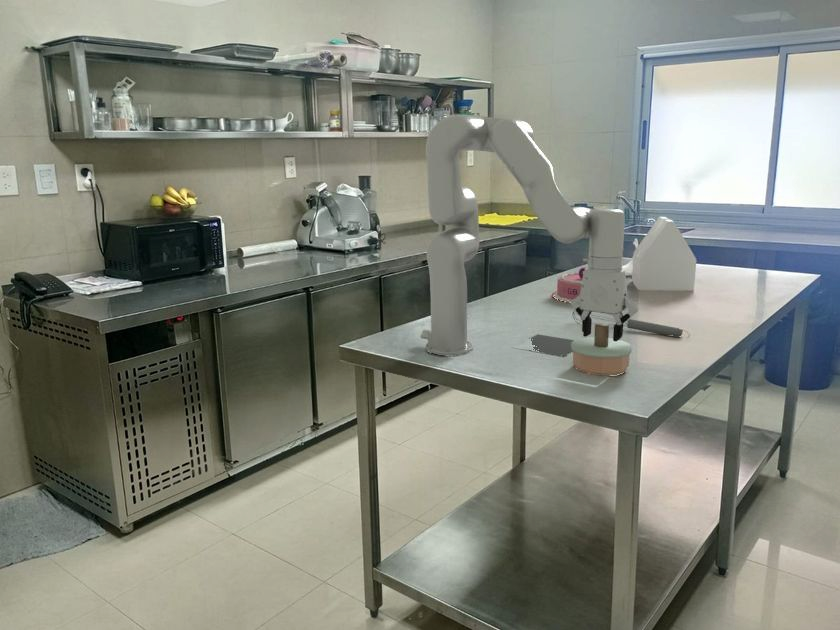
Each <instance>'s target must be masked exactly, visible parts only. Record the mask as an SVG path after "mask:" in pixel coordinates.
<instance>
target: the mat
mask: <svg viewBox="0 0 840 630" xmlns="http://www.w3.org/2000/svg"><path fill="white" fill-rule="evenodd" d="M530 338H531V341H532V345H535V347H533V348H534V349H535V351H536V350H537V351H539V352H543V353H545V354H544V355H549V354H550V355H549V356H554V355H556V356H555V357H560V356H561V355H562V357H561V358H565V357H567V356H568V355H567V354H569V353H570V354H572V353H573V350H572V349H571V343H572V342H573V341H574V339H571V338H570V339H569V338H561V337H557V336H552V335H545V334H539V333H538V334H536V335H534V336H532V337H529V338H528V339H530ZM532 339H533V340H532ZM536 346H537V347H536ZM534 349H533V350H534ZM538 349H539V350H538ZM571 352H572V353H571ZM543 353H542V354H543ZM570 354H569V355H570Z"/></svg>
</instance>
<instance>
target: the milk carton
mask: <svg viewBox="0 0 840 630" xmlns="http://www.w3.org/2000/svg"><path fill="white" fill-rule="evenodd" d="M632 258H633V269H632V274H631V283H632V282H633V283H632V284H633V285H634V286H635V288H636V289H637V290H638V291H687V290H688V291H693V292H694V291H695V281H696V270H697V258H696V256H695V255H694V252H693V251H692V249H691V247H690V246H689V244H688V242H687V241H686V239H685V238H684V235H683V234H682V233H681V230H680V229H679V227H678V226H677V224H676V223H675V221H674V220H672V219H670V218H668V217H666V216H659V217H658V218H657V219H656V220H655V222H654V224H652V226H651V228H650V229H649V230H648V231H647V233H646V235H645V236H644V237H643V239H642V240H641V241H640V242H639V243H638V247H637V248H636V247H635V250H634V251H633V254H632ZM688 291H687V292H688Z"/></svg>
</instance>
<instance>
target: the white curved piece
mask: <svg viewBox="0 0 840 630" xmlns="http://www.w3.org/2000/svg"><path fill="white" fill-rule="evenodd" d="M632 245H634V247H635V249H636V248H637V247H638V245H639V241H638V239H637V238H634V240H633V242H632ZM622 269H624V270H625V275H626V277H627V276H630V275H631V276H632V269H633V257H632V258H631V260H630V261H629V262H628V263H627V264H625V265H622Z"/></svg>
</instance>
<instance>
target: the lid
mask: <svg viewBox="0 0 840 630" xmlns="http://www.w3.org/2000/svg"><path fill="white" fill-rule="evenodd" d="M597 323H598V324H594V336H589V337H588V336H586V337H582V338H577V339H575V340H574V339H573V340H574V341H573V342H572V343H571V349H572V350H573V351H574V352H576V353H579V354H582V355H586V356H592V357H601V358H612V357H621V356H625V355H628V354H629V355H630V354H631V353H632V351H633V350H632V349H633V346H632V345H631V344H630V343H629V342H628V341H625V340H621V339H619V340H618V341H613V337H609V335H610V328H609V327H610V325H608V324H609V323H599V322H597Z"/></svg>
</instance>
